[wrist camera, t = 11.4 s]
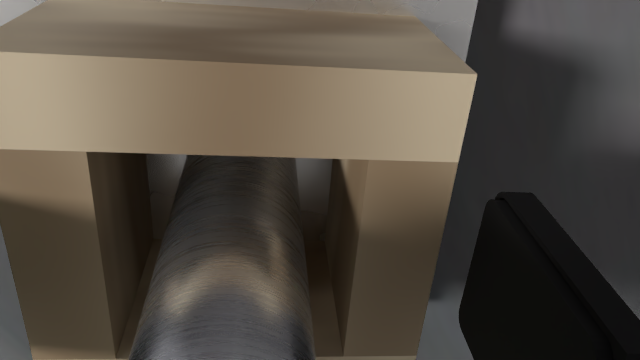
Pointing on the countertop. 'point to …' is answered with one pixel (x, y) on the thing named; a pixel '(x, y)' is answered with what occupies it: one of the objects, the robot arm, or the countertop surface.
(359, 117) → the light brown square frame
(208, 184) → the post
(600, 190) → the countertop surface
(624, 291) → the countertop surface
